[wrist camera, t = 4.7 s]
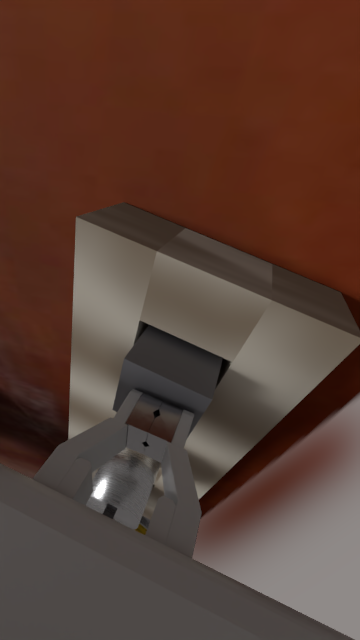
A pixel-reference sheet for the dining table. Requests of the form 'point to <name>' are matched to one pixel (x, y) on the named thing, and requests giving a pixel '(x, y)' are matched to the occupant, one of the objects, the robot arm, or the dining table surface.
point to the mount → (198, 329)
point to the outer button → (170, 372)
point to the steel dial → (124, 487)
